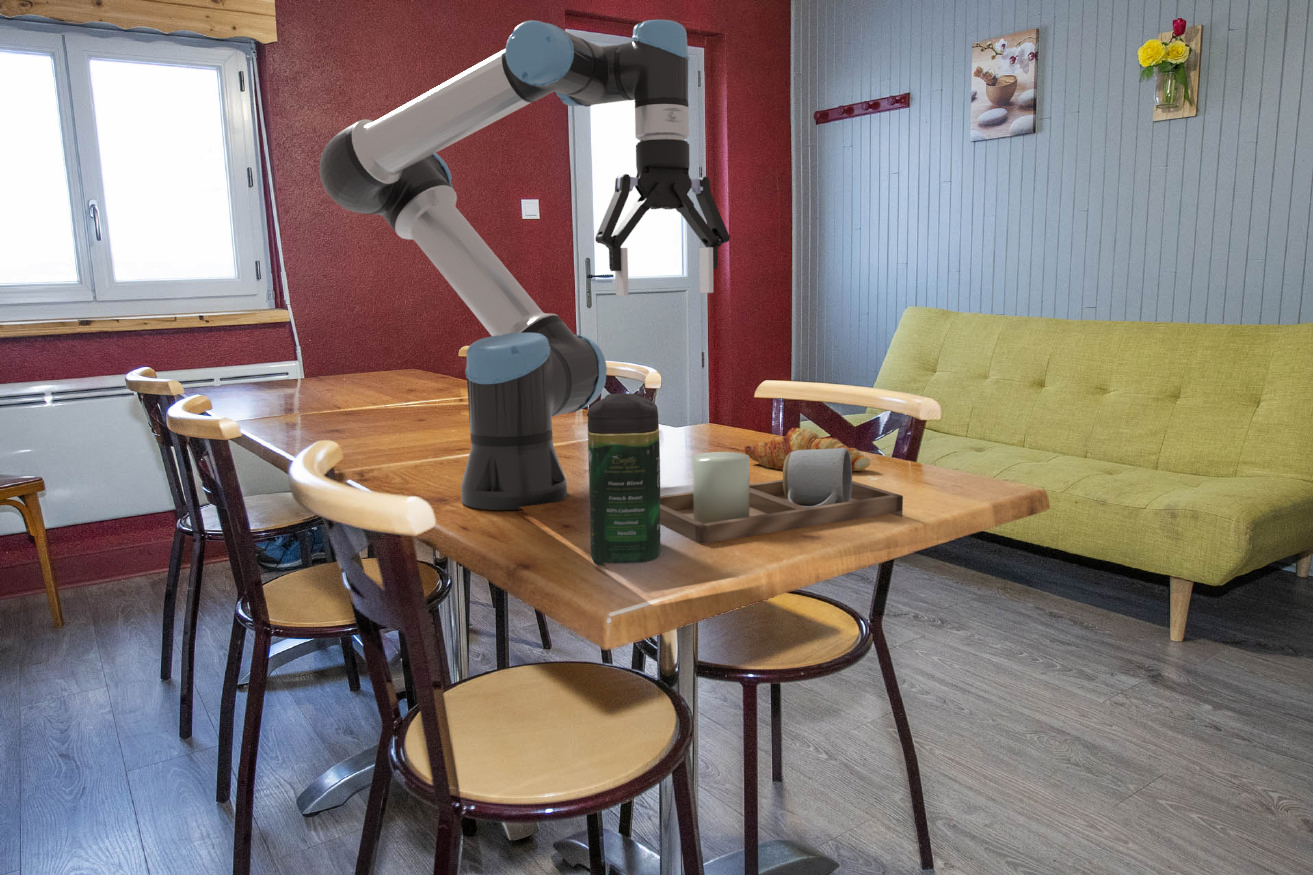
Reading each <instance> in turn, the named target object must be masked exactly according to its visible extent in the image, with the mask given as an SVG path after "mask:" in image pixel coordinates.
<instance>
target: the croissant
mask: <svg viewBox="0 0 1313 875" xmlns="http://www.w3.org/2000/svg"><path fill="white" fill-rule="evenodd" d="M836 448H846V449H848V451H849V452H850V457H851V465H852V472H857V471H858V472H859V471H863V470H865V469H867V468H869V467H870V462H871V460H870V458H869V457H868V456H866V455H864V454H863V453H862V452H861V451H859V450H858V449H857V448H855V447H848V446H847V445H845V444H843V443H842V442H841V441H840V439H838V438H835V437H825V436H819V435H818V434H817V432H815V431H812V430H810V429H805V428H802V427H801V428H799V427H791V429H789V430H788V431H787V433H786V434H785V436H783V435H776V436H774V437H773V438H772V439H771V440H769V441H768V442H766V441H759V442H756V443H754V445H753V444H752V445H745V446H744V454H746V455H748V456H749V459H750V460H752V461H754V462H757V463H758V464H760V466H763V467H764V468H765V467H766V469H774V470H779V471H783V467H784V461H785V459H786V456H787V455H788V454H789V453H790V452H793V451H798V450H815V449H836Z"/></svg>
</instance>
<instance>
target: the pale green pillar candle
mask: <svg viewBox="0 0 1313 875" xmlns="http://www.w3.org/2000/svg"><path fill="white" fill-rule="evenodd" d="M750 479H751V478H750V458H749V456H748V455H746V454H745V453H742V452H735V451H734V452H732V451H712V452H704V453H703V452H701V453H698V454H695V455H693V456H692V486H693V487H692V492H693V508H694V520H696V521H698V522H700V523H703V524H704V523H711V522H717V521H724V520H730V519H737V518H744V517H750V484H751V483H750Z"/></svg>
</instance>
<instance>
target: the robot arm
mask: <svg viewBox="0 0 1313 875" xmlns="http://www.w3.org/2000/svg"><path fill="white" fill-rule="evenodd" d="M631 38H632V39H631V41H629V42H625V43H622V44H614V45H603V46H600V45H597V44H596V43H593V42H590V41H588V40H586V39H584V38H581V37H579V36H577V35H574V34H572V33H570V32H568V31H566V30H564V29H562V28H561V27H559V26H557V25H555V24H552V23H548V22H543V21H541V20H540V21H539V20H526V21H523V22H521V23H520V24H518V25H517V26H515V28H514V29H513V31H512V33H511V35H509V36H508V39H507V41H506V45H505V48H504V49H502V50H500V51H499V52H497V53H495V54H493V55H491V56H489V57H487V58H486V59H483V61H480V62H478V63H477V64H475V65H473V66H472V67H469V68H467V69H466V70H464V71H463V72H460V73H459V74H457V75H455V76H454V77H451V78H450V79H448V80H446V81H445V82H442V83H441V84H440V85H437V86H436V87H434V88H432V89H429V91H426V92H425V93H423V94H421V95H420V96H417V97H416V98H414V99H412V100H410V101H408V102H407V103H405V104H403V105H402V106H399V107H398V108H396V109H394V110H392V111H390V112H389V113H387V114H385V115H383V116H382V117H380V118H378V119H376V120H374V121H373V120H371V119H361V120H359V121H357V122H355V123H353V124H352V125H349V126H347V127H346V128H345V129H343V130H341V131H340V132H338V133H337V134H336V135H335V136H334V137H332V138H331V139H330V140H329V142H328V143H327V144H326V146H325V147H324V148H323V151H322V153H321V155H320V159H319V177H320V181H321V184H322V186H323V188H324V190H325V192H326V193H327V195H328V196H329V197H330V198H331V200H332V201H333V202H335V203H336V204H338V206H340V207H342V208H343V209H344V210H348V211H350V212H353V213H355V214H356V213H357V214H364V215H365V214H366V215H377V216H378V215H379V216H381V217H383V219H385V221H386V222H387V224H388V225H389V226H390V227H391V229H393V231H394V232H395V233H396V235H397V236H398V237H400V238H401V239H403V240H413V241H414V242H415V243H416V244H417V246H418V247H419V248H420V249H421V250H422V252H423V253H424V254H425V255H426V257H427V258H428V259H429V261H431V263H432V264H433V266H434V267H435V268H436V269H437V270H438V272H439V273H440V274H441V275H442V276H443V277H444V279H445V280H446V281H447V283H448V284H449V285H450V286H451V287H452V288H453V290H454V291H455V293H457V295H458V296H459V298H460V299H461V300H462V301H463V302H464V304H465V305H466V307H468V308H469V310H470V311H471V312H472V313H473V314H474V316H475V317H476V318H477V320H478V322H480V324H482V326H483V327H484V328H485V329H486V331H487V332H488V333H489V335H491V336H486V337H483V338H480V339H477V340H475V341H474V342H472V343H471V344H470V345H469V347H468V348H467V351H466V365H465V377H466V381H467V382H466V384H467V385H466V386H467V401H468V402H467V403H468V415H469V416H468V417H469V433H470V452H469V454H468V459H467V462H466V466H465V471H464V474H463V477H462V481H461V485H460V492H461V493H460V495H461V498H460V499H461V503H462V504H463V505H464V506H467V507H470V508H473V509H474V508H475V509H480V510H487V511H488V510H489V511H512V510H513V511H514V510H522V508H523V507H529V506H537V505H544V504H545V505H546V504H552V503H560V502H562V501H563V500H565V499H566V498H567V496H568V487H567V486H568V485H567V483H568V482H567V478H566V476H565V473H564V470H563V468H562V465H561V462H560V460H559V457H558V454H557V452H556V449H555V446H554V438H553V417H556V416H560V415H565V414H570V413H571V414H572V413H576V412H578V411H580V410H583V409H584V408H586V407H588V406H591V405H592V404H594V403H595V401H596V400H597V399H598V398H599V397H600V395H601V394H602V392H603V390H604V388H605V386H606V381H607V371H608V370H607V369H608V368H607V362H606V358H605V356H604V353H603V351H602V349H601V347H599V345H598V344H597V343H596V342H595V341H593V340H592V339H590V338H588V337H586V336H583V335H578V334H574V332H573V331H571V329H570V328H569V327H568V326H567V324H566V323H565V322H564V320H562V318H561V317H560V316H559V315H558V314H556V313H545V312H543V310H541V308H540V307H539V305H538V304H537V303H536V302H535V301H534V299H533V298H531V296H530V295H529V294H528V292H527V291H526V289H524V288H523V286H522V285H521V284H520V283H519V282H518V280H517V279H516V278H515V277H514V275H513V274H512V273H511V272H510V271H509V269H508V268H507V267H506V266H505V265H504V263H503V262H502V261H501V260H500V259H499V258H498V256H497V255H496V253H494V251H493V250H492V249H491V248H490V247H489V246H488V244H487V243H486V242H485V240H484V239H483V238H482V237H481V236H480V235H479V233H478V232H477V231H476V230H475V228H474V227H473V225H472V224H471V223H470V222H469V221H468V220H467V219H466V218H465V216H464V215H463V214H462V213H461V212H460V210H459V209H458V208H457V207H456V204H457V200H458V195H457V193H456V190H455V189H454V185H453V184H452V179H453V177H452V173H451V170H450V169H449V166H448V165H447V163H446V161H444V159H443V158H442V157H441V156H440V155H439V154H438V152H440V151H442V150H443V149H446V148H447V147H449V146H451V145H453V144H455V143H457V142H459V141H461V140H462V139H463V140H464V139H465V138H466V137H468V136H470V135H472V134H474V133H476V132H478V131H480V130H483V129H484V128H485V127H487V126H489V125H491V124H493V123H495V122H498V121H499V120H500V119H501V120H502V119H503V118H504V117H506V116H509V115H511V114H512V113H514V112H516V111H519V110H520V109H522V108H524V107H526V106H528V105H529V104H531V103H534V102H536V101H539V100H540V99H542V98H544V97H546V96H547V95H548V96H549V95H550V94H552V93H554V92H555V93H556V96H557V98H558V97H559V99H560V100H561V102H562V103H563V104H564V105H566V106H570V107H578V106H580V107H581V106H582V107H591V106H594V105H601V104H608V103H609V104H610V103H618V102H626V101H634V118H635V120H634V121H635V122H634V124H635V131H634V132H635V133H634V134H635V138H636V139H637V140H638V142H637V143H636V145H635V165H636V175H635V176H636V177H634V176H631V175H629V174H627V173H625V174H621V175H617V176H616V178H615V181H614V193H613V195H612V198H611V200H610V203H609V205H608V207H607V209H606V212H605V214H604V216H603V219H602V221H601V224H600V226H599V227H598V230H597V233H596V236H595V237H594V238H595V242H596V243H598V244H602V245H604V246H605V247H606V248H607V249H608V260H609V261H608V263H609V264H608V266H609V269H610V272H614V275H615V296H629V267H628V266H629V261H628V256H629V255H628V247H622V246H623V244H624V243H625V241H626V240H627V238H628V237H629V236H630V235H631V233H632V232H633V230H634V229H635V228H636V226H637V225H638V224H639V222H640V221H641V219H642V218H643V217H644V215H645V214H646V213H647V212H648V211H649V210H658V209H663V210H676V212H678V213H679V214H680V215H681V216H682V217H683V218H684V220H685V221H686V223H688V225H689V227H690V228H691V229H692V231H693V232H694V234H696V236H697V237H698V239H699V240H700V241H701V243H702V244H703V245H704V247H700V248H698V250H699V294H701V293H702V294H712V293H714V270H718V266H719V264H718V263H719V259H718V258H719V255H718V252H719V249H718V248H719V247H721V246H722V244H724V243H728V242H730V240H731V236H730V235H729V232H728V230H727V228H726V227H727V226H726V225H725V222H724V220H723V218H722V215H721V213H720V210H719V209H718V206H717V204H716V202H715V199H714V197H713V195H712V190H711V183H710V178H709V177H708V176H703V177H697V178H693V179H691V177H690V173H689V172H690V163H691V162H690V144H689V143H688V141H686V139H687V138H688V137H689V136H690V126H689V125H690V116H689V115H690V114H689V111H690V110H689V61H690V57H689V49H688V36H687V31H686V28H685V27H684V25H683V24H681V23H679V22H677V21H674V20H670V19H651V20H644V21H643V22H639V23H637V24H635V26H634V27H633V30H632V37H631ZM634 188H635V189H636V191H637V193H638V194H639V196H638V198H637V199H636V201H634V203H633V205H632V208H631V209H630V210H629V212H628V213H627V214H626V216H625V217H624V218H623V220H622V221H621V223H620V224H619V225H618V227H617V228H616V226H617V223H618V221H619V220H620V216H621V214H622V213H623V209H624V207H625V205H626V202H627V200H628V199H629V198H628V197H629V194H630V192H632V191H633V189H634ZM690 190H691V192H692V193H693V194H695V196H696V198H695V199H696V201H697V202H698V206H699V207H700V209H701V211H702V215H703V216H704V218H705V220H704V218H703V217H702V216H701V214H700V213H699V211H698V210H697V208H696V207H695V204H694V202H693V200H692V199H691V198H690V196H689V195H688V194H689V192H690ZM615 228H616V230H615Z"/></svg>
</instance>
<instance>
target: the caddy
mask: <svg viewBox="0 0 1313 875" xmlns="http://www.w3.org/2000/svg"><path fill="white" fill-rule="evenodd" d="M903 502H904V496H903V495H901V494H898V493H895V492H891V491H888V490H884V489H881V488H878V487H874V486H871V485H868V484H864V483H860V482H857V481H853V480H852V492H851V498H850V501H849V502H843V503H836V504H829V505H823V506H816V507H810V508H806V507H803V506H814V505H799V504H795V503H792V502H789V501H788V500H787V499H786V497H785V494H784V489H783V479H779V480H778V479H777V480H769V481H764V482H754V483H750V517H744V518H737V519H730V520H724V521H717V522H711V523H704V524H703V523H700V522H698V521H696V520H694V508H693V491H688V492H681V493H680V492H679V493H674V494H665V495H660V526H663V527H664V528H667V529H669V530H671V531H673V532H675V533H676V534H678V535H680V536H682V537H684V538H686V539H688V540H690V541H692V542H694V543H697V544H699V545H703V544H709V543H710V544H711V543H716V542H720V541H721V542H723V541H729V540H733V539H735V540H736V539H741V538H747V537H753V536H758V535H759V536H760V535H764V534H765V535H766V534H770V533H771V534H772V533H777V532H783V531H790V530H797V529H802V528H808V527H814V526H820V525H826V524H834V523H838V522H840V523H841V522H845V521H852V520H858V519H863V518H869V517H875V516H883V515H890V514H891V515H894V516H898V517H900V518H903V512H904V511H903V510H904V508H903V504H904V503H903Z"/></svg>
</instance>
